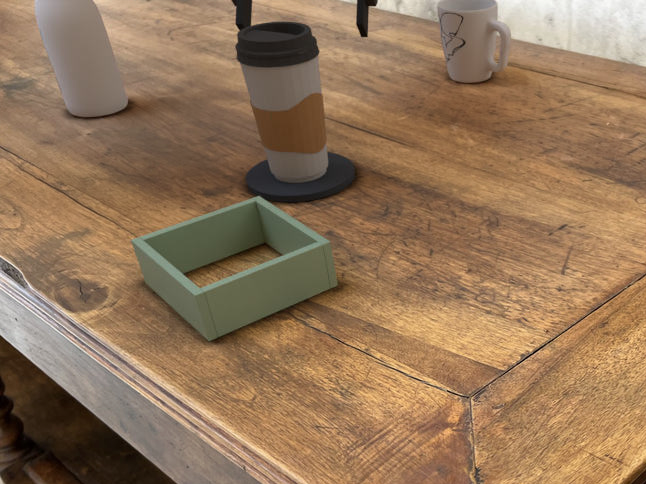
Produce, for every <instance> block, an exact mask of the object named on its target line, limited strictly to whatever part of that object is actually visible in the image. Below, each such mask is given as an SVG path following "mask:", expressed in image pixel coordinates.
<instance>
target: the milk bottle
mask: <svg viewBox="0 0 646 484" xmlns="http://www.w3.org/2000/svg"><path fill="white" fill-rule="evenodd" d="M34 14H35V19H36V24H37V27H38V31H39V35H40V37H41V40H42V43H43V45H44V49H45V51H46V54H47V56H48V60H49V63H50V65H51V67H52V71H53V75H54V78H55V79H56V83H57V85H58V88H59V90H60V93H61V96H62V100H63V101H64V102H63V103H64V104H65V106H66V109H67V111H68V112H69V113H70V114H71V115H72V116H76V117H79V118H80V117H82V118H93V117H94V118H95V117H102V116H107V115H112V114H115V113H118V112H120V111H122V110H123V109H125V108H127V106H128V104H129V103H128V102H129V99H128V95H127V92H126V89H125V86H124V85H125V84H124V82H123V78H122V75H121V73H120V69H119V66H118V63H117V60H116V56H115V53H114V51H113V46H112V43H111V41H110V38H109V35H108V32H107V31H108V30H107V29H106V25H105V22H104V20H103V17H102V14H101V12H100V10H99V8H98V5H96V2H95V1H94V0H34Z"/></svg>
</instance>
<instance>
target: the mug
mask: <svg viewBox="0 0 646 484" xmlns="http://www.w3.org/2000/svg"><path fill="white" fill-rule="evenodd" d="M436 8H437V18H438V26H439V34H440V40H441V47H442V51H443V55H444V59H445V64H446V69H447V73H448V76H449V78H450V79H451V80H452V81H455V82H458V83H463V84H474V83H481V82H485V81H487V80H488V79H490V78H491V77H492V74H493V73H498V74H499V73H501V72H503V71H505V70H506V69H507V67H508V63H509V57H510V50H511V45H512V32H511V30H510V28H509V26H508V25H507V24H506V23H504V22H502V21H499V20H498V14H499V13H498V12H499V11H498V10H499V5H498V2H497V0H440V1H438V2H437V7H436ZM498 34H499V37H500V46H499V54H498V55H499V56H498V63H497V62H496V61H495V53H496V47H497V36H498Z"/></svg>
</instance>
